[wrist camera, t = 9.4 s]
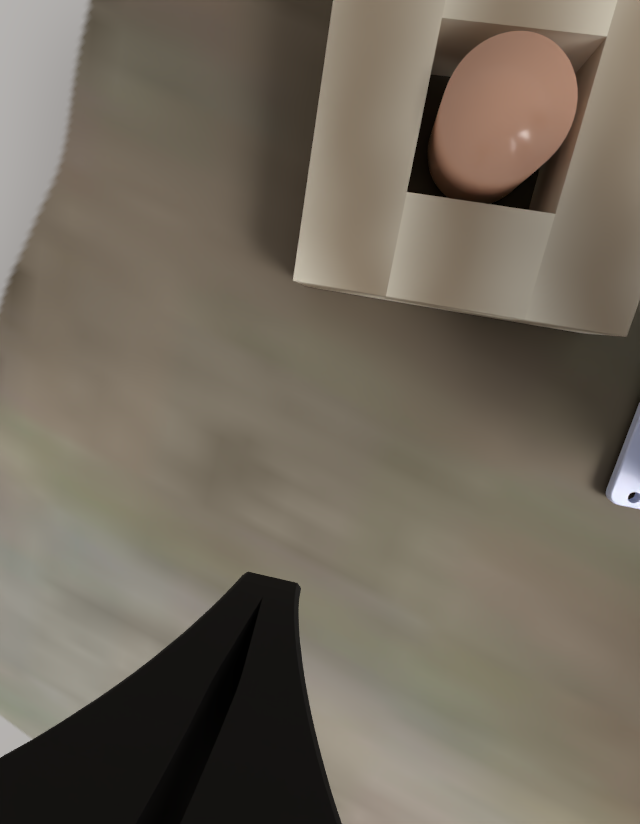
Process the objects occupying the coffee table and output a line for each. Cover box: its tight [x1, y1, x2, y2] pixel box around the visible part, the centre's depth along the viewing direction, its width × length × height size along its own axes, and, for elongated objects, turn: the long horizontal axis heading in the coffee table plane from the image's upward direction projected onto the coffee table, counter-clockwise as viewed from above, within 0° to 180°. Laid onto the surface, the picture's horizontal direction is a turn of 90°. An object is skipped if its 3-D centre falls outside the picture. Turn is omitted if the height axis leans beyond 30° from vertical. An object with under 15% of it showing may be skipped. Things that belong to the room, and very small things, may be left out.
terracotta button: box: [427, 31, 578, 204], centre depth 14 cm, size 4×4×3 cm
